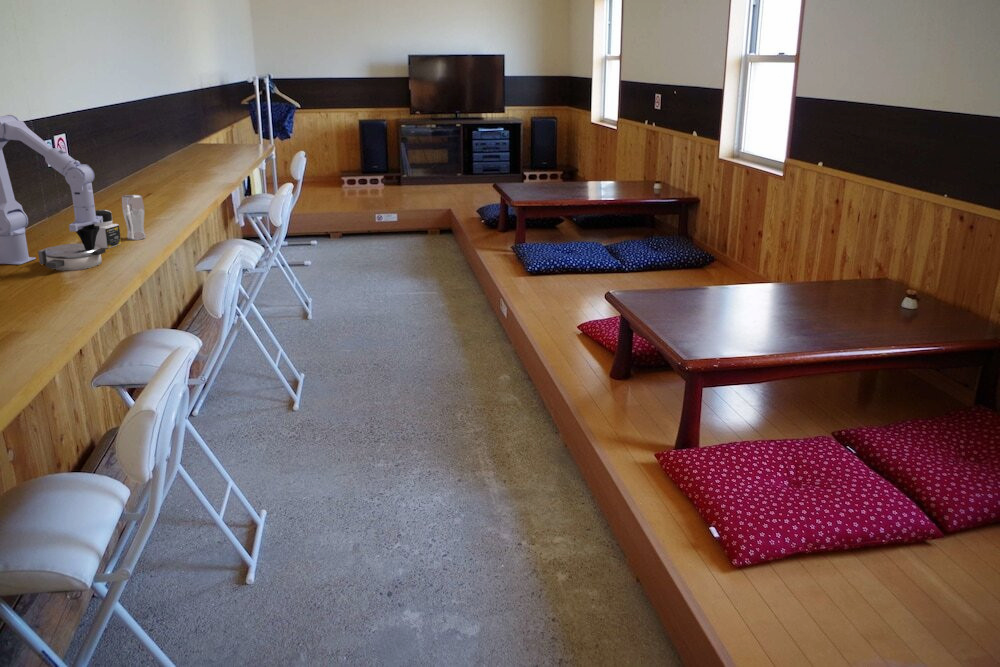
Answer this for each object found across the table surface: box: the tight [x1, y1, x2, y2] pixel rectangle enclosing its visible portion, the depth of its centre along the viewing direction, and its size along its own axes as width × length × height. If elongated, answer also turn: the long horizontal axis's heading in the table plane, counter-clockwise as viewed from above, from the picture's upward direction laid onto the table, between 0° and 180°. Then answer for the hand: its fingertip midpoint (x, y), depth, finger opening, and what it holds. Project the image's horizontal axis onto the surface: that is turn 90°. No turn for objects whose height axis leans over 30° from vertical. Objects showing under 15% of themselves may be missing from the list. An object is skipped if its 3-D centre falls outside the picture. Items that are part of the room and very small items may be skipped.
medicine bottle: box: [94, 209, 122, 249], centre depth 267 cm, size 7×7×12 cm
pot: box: [37, 246, 103, 271], centre depth 244 cm, size 17×23×4 cm
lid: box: [43, 242, 106, 258], centre depth 244 cm, size 17×15×1 cm
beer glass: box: [121, 194, 147, 241], centre depth 278 cm, size 7×7×15 cm
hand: (89, 249), depth 243 cm, fingers closed, pressing on lid
